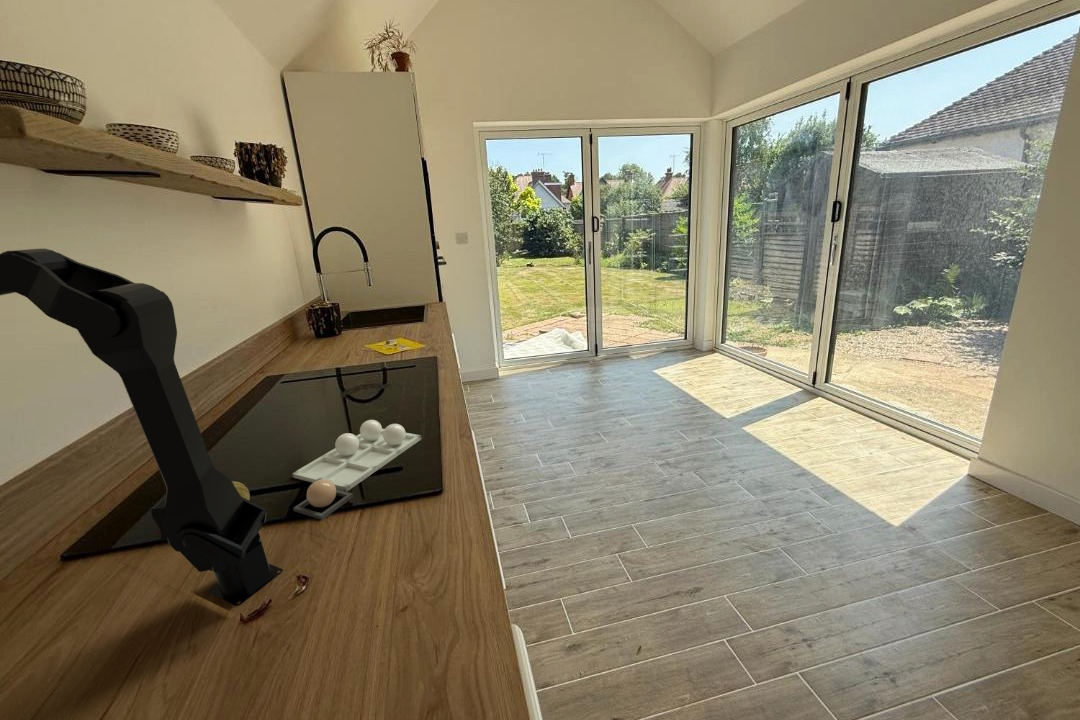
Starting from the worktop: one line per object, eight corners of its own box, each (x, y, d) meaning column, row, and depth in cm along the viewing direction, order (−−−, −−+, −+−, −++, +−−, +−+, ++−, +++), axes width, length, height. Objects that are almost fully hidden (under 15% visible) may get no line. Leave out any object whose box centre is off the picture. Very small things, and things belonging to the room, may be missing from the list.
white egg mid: (365, 450, 93) (361, 431, 92) (348, 461, 89) (344, 441, 88) (349, 447, 95) (345, 428, 93) (332, 457, 91) (328, 437, 90)
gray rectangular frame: (354, 500, 78) (352, 493, 77) (322, 523, 72) (321, 516, 72) (327, 493, 81) (325, 486, 80) (295, 515, 75) (293, 507, 75)
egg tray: (422, 442, 97) (420, 435, 96) (347, 495, 80) (345, 487, 79) (373, 433, 102) (371, 426, 102) (294, 481, 85) (292, 473, 85)
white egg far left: (411, 440, 96) (408, 421, 94) (397, 450, 92) (393, 431, 91) (395, 437, 98) (391, 418, 96) (380, 447, 94) (376, 428, 92)
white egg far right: (388, 436, 98) (384, 417, 97) (373, 446, 95) (369, 426, 93) (372, 433, 100) (369, 415, 99) (357, 443, 97) (353, 423, 95)
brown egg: (344, 499, 77) (339, 477, 76) (322, 515, 73) (316, 491, 72) (325, 494, 79) (320, 472, 78) (303, 509, 75) (297, 486, 74)
